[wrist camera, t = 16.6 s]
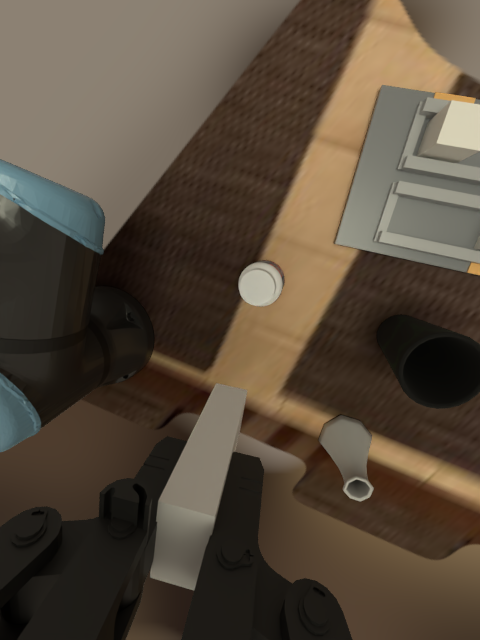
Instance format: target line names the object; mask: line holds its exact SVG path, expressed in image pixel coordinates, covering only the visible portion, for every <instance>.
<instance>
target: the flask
mask: <svg viewBox="0 0 480 640" xmlns="http://www.w3.org/2000/svg"><path fill="white" fill-rule="evenodd" d="M371 439H372V435H371V434H370V432H369V431H368V430H367V429H366V427H365V426H364V425H363V423H362V422H361V421H359V420H356V419H353V418H349V417H346V416H343V415H340V416H338V417H336V418H334V419H333V420H331V421H329V422H327V423H326V424H324V427H323V429H322V432H321V435H320V437H319V442H320V443H321V444H322V446H323V447H324V448H325V449H326V451H327V452H328V453H329V455H330V456H331V457H332V459H333V460H334V462H335V463H336V464H337V466H338V467H339V469H340V472H341V474H342V476H343V479H344V483H345V484H344V486H343V490H344V492H345V493H346V494H347V495H348V497H349V498H351V499H354V500H357V501H360V502H361V501H363V500H365V499H367V498H369V497H370V496H371V494H372V491H373V489H374V488H373V486H372V485H371V484H370V482H369V481H368V478H367V469H366V464H367V458H368V453H369V448H370V444H371Z"/></svg>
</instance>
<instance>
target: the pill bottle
mask: <svg viewBox="0 0 480 640" xmlns="http://www.w3.org/2000/svg"><path fill="white" fill-rule="evenodd" d="M283 286H284V274H283V271H282V269H281V268H280V267H279V266H278V265H277V264H276V263H274V262H272V261H267V260H263V261H259V262H256V263H253V264H251V265H249V266H248V267H246V268H245V269H244V270H243V272H242V273H241V275H240V278H239V283H238V287H239V292H240V295H241V297H242V298H243V299H244V301H246V302H247V303H248V304H251V305H254V306H260V307H261V306H267V305H270V304H272V303H273V302H275V301H276V300H277V299H278V297H279V296H280V294H281V292H282V289H283Z"/></svg>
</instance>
